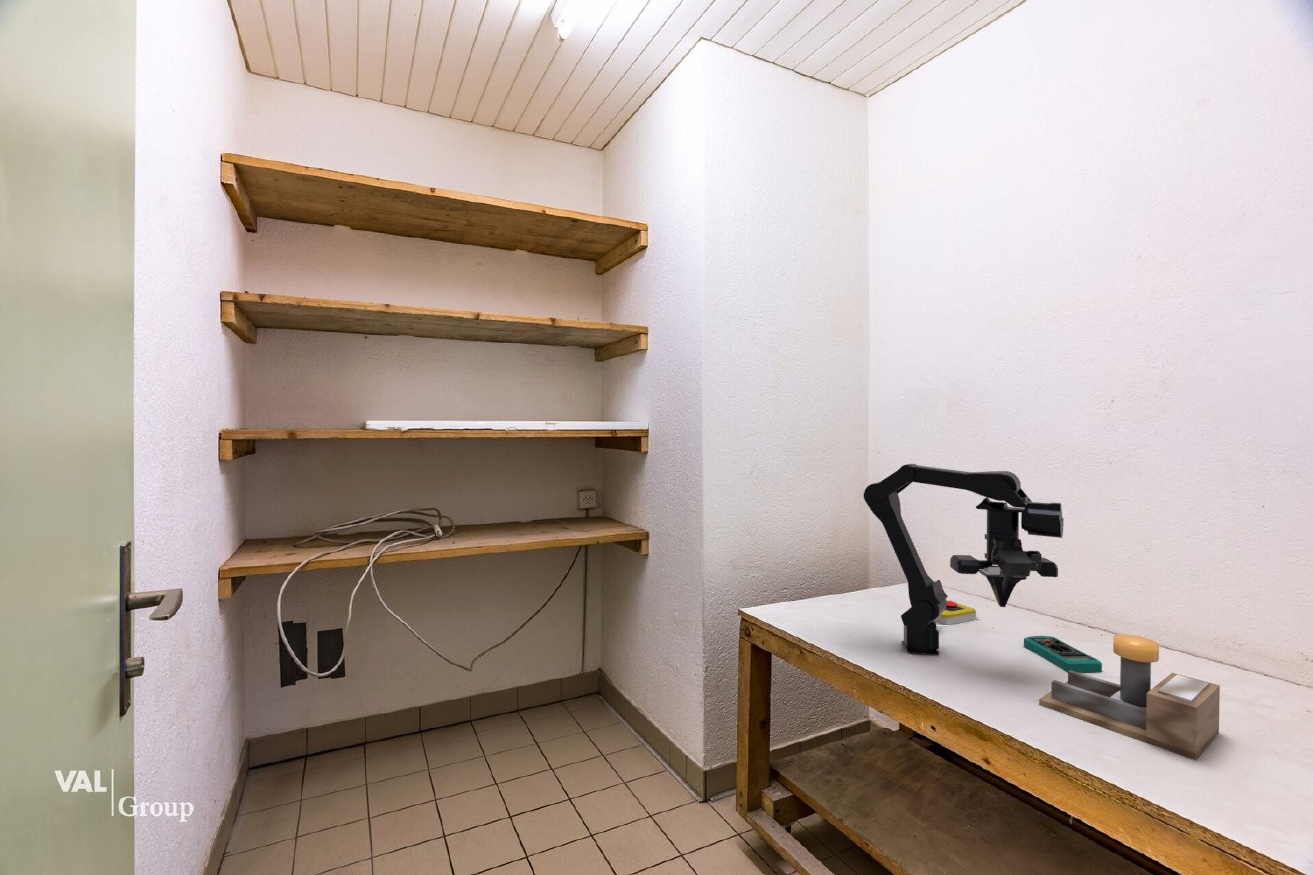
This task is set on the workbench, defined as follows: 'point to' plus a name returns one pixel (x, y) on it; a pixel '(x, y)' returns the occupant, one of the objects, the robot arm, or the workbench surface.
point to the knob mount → (1145, 710)
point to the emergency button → (956, 614)
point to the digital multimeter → (1062, 654)
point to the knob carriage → (1135, 667)
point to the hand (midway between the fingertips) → (1002, 606)
